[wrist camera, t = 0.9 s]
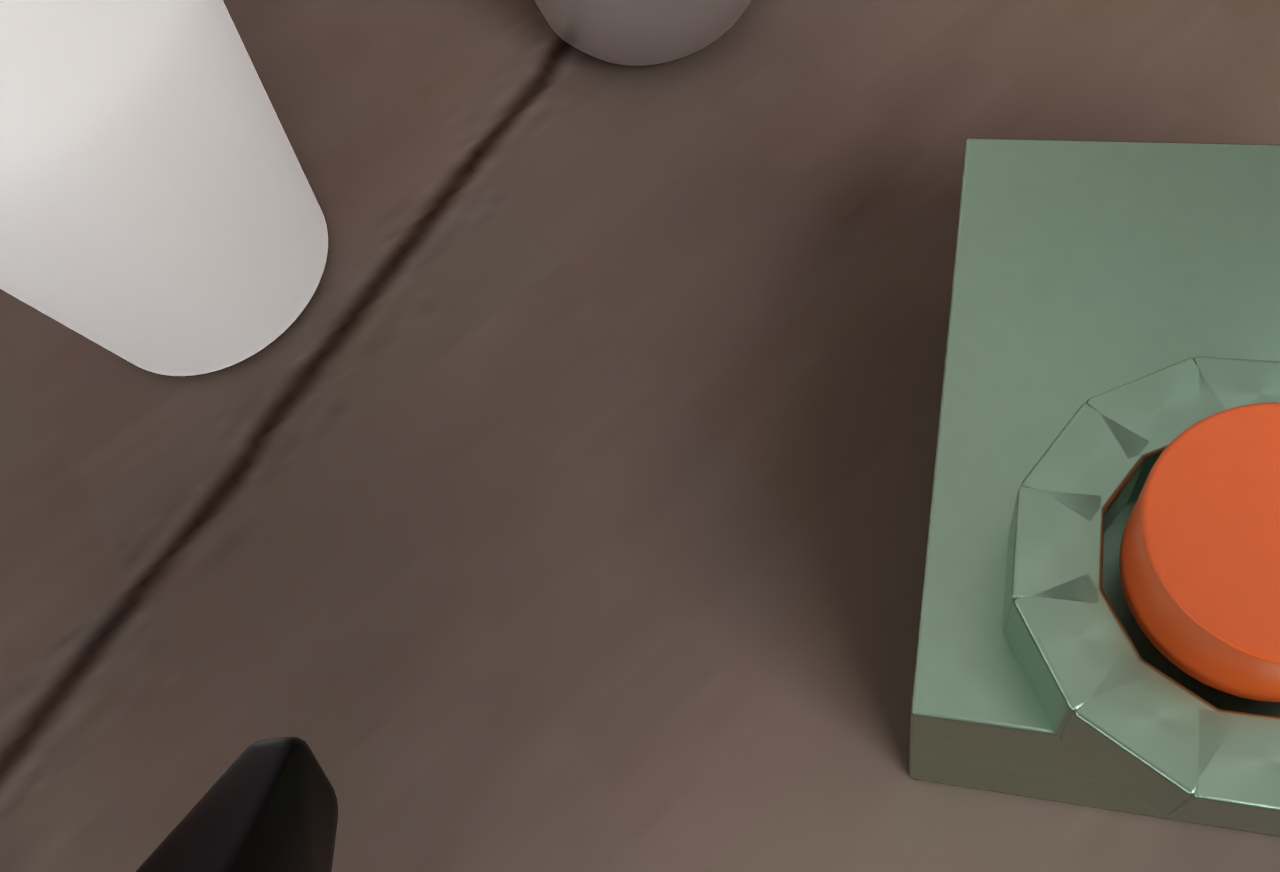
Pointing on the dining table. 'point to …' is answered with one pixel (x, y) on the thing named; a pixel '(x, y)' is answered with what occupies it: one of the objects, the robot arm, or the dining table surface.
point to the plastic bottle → (641, 27)
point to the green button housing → (1089, 471)
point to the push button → (1212, 552)
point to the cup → (150, 183)
